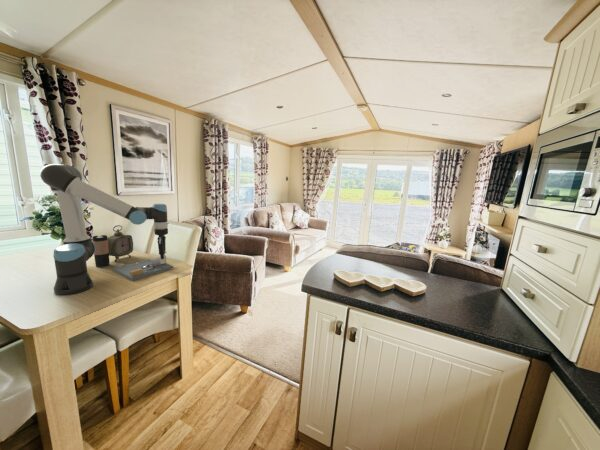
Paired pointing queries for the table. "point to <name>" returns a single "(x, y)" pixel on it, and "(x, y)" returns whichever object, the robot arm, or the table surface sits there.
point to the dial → (153, 263)
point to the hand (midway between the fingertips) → (163, 263)
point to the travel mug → (101, 251)
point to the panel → (137, 265)
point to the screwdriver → (138, 271)
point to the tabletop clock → (120, 244)
